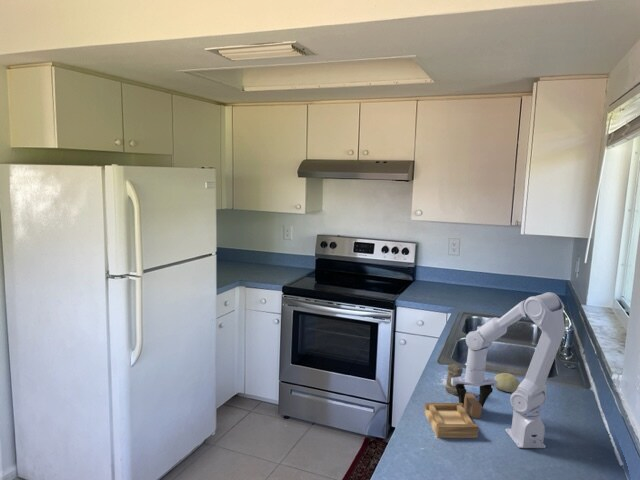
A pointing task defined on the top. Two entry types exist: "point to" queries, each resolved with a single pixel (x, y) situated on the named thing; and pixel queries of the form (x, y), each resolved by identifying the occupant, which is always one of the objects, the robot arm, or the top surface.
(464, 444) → the top surface
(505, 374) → the sea urchin shell
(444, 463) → the top surface
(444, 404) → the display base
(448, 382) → the stone
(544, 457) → the top surface
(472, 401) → the tan wooden post
